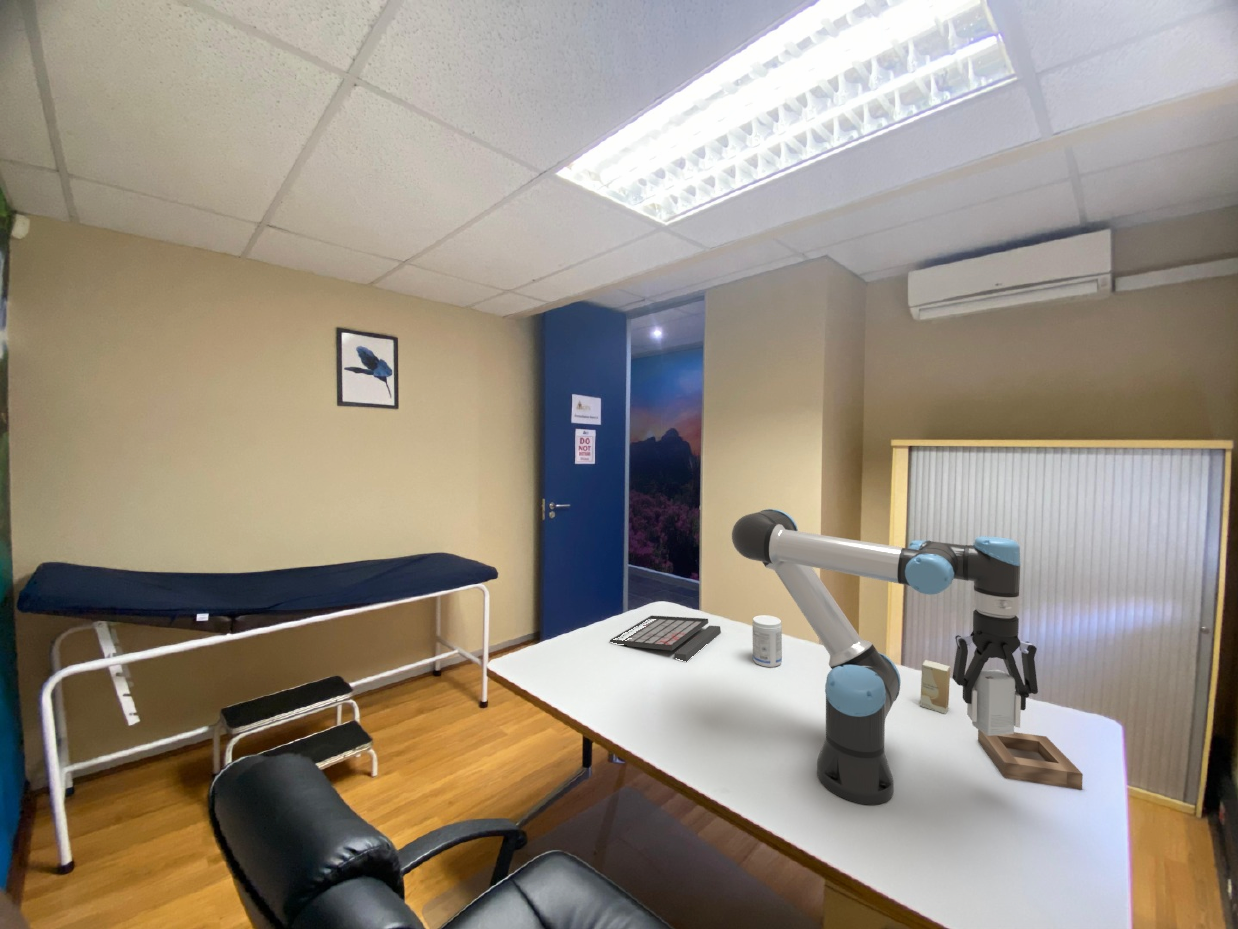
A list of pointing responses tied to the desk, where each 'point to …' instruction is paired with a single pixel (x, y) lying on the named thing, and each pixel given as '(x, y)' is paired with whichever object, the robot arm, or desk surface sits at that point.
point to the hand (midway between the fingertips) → (993, 720)
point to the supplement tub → (767, 641)
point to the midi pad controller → (672, 635)
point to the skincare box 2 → (995, 703)
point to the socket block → (1031, 759)
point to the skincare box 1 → (935, 686)
